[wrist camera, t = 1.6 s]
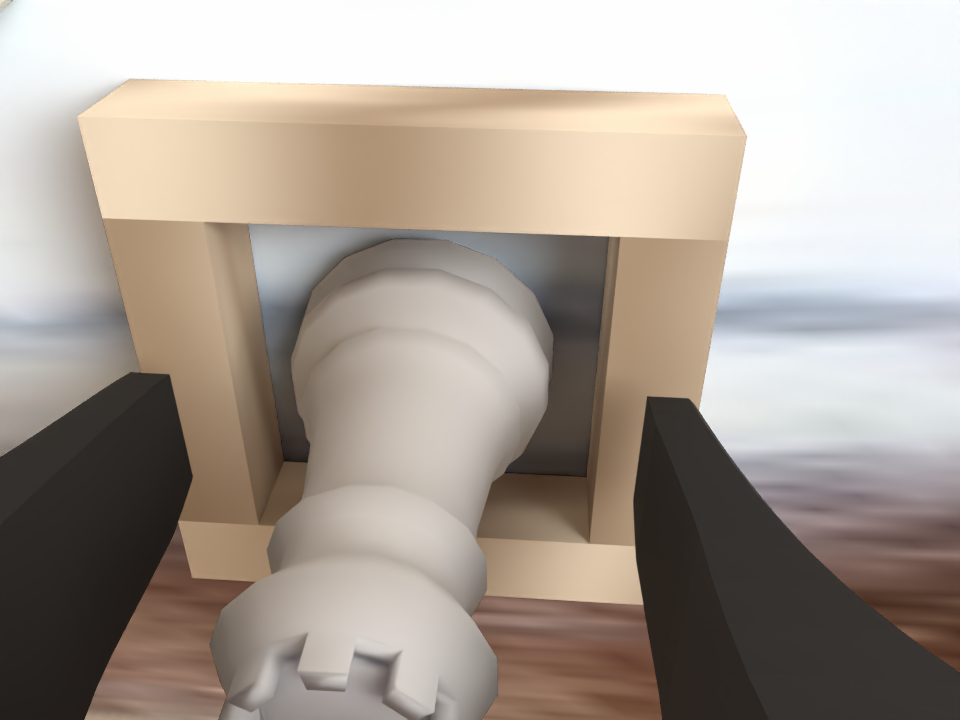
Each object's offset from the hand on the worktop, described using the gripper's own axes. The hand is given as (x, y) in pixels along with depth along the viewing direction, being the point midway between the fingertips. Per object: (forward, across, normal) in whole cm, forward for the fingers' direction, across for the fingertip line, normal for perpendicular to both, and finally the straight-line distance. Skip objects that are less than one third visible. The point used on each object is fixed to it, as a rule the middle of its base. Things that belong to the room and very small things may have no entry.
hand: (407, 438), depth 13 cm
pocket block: (+3, 0, 0) cm, 3 cm away
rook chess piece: (+3, 0, 0) cm, 3 cm away
